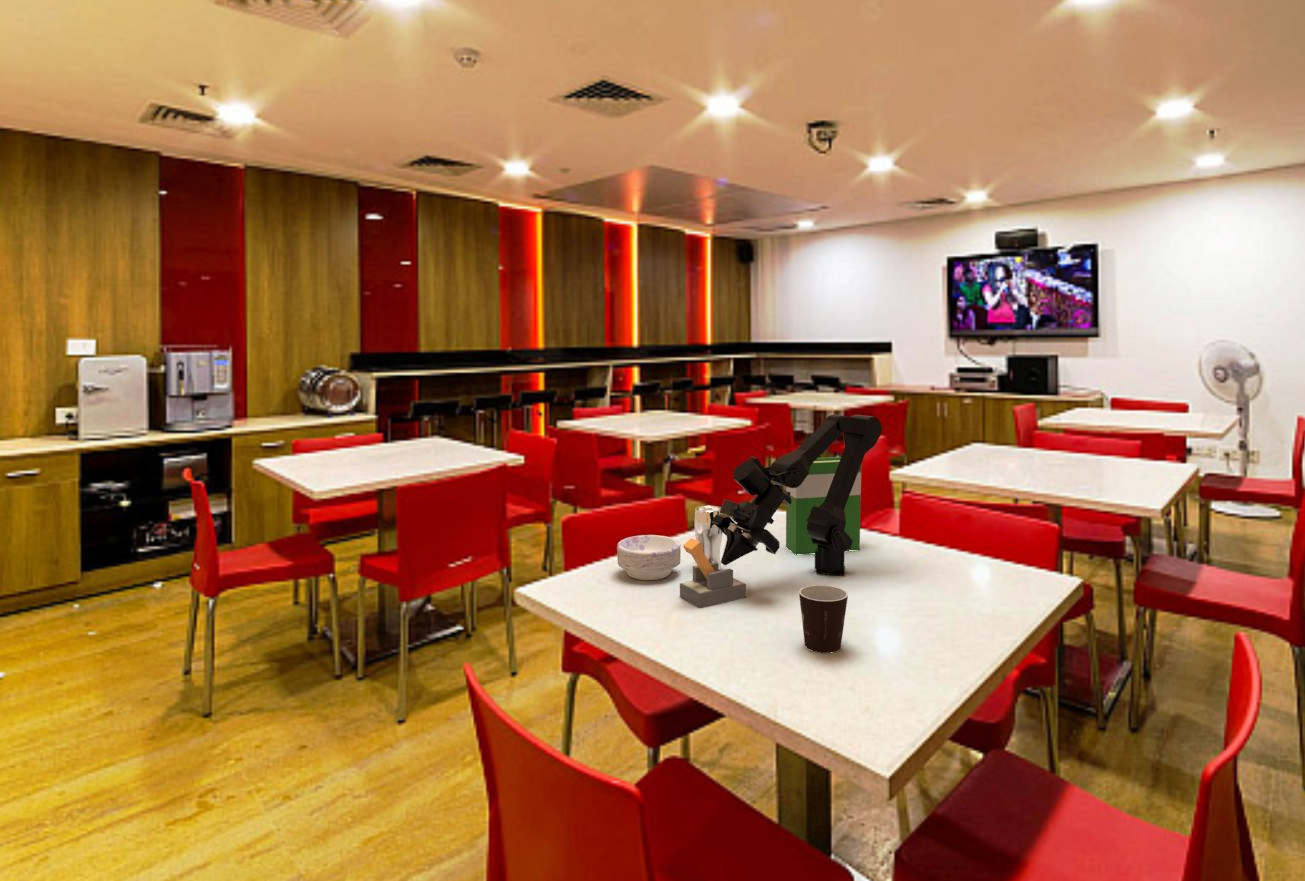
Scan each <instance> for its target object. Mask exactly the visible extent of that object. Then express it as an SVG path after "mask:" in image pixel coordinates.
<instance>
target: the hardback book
mask: <svg viewBox="0 0 1305 881" xmlns="http://www.w3.org/2000/svg"><path fill="white" fill-rule="evenodd" d="M840 459H841V456H836V457H818V458H817V459H816V460H815V461H814V462H813V464H812V465H811V466H810V471H809V474H808V476H807V477H806V478H805V480H804V481H803V483H802V484H801V485H800V486H799V487H797V488H789V487H785V491H788V492H790V497H791V501H792V503H791V504H787V503H785V506H786V507H785V512H786V513H785V548H786V547H787V548H788V549H787V548H786V549H787V550H789V551H790V550H791V551H792V552H791V551H790V552H791V553H792V554H794V555H795V554H796V555H795V556H798V555H797V554H804V555H810V554H809V553H815V550H817V547H818V545H817V544H813V543H812V541H811V538H810V535H809V534H808V530H807V524H808V522H807V521H806V520H807V519H808V518H809V516H810V513H811V509H812V507H813V506H816V507H819V506H820V505H821V504H823V503H824V501H825V498H826V496H827V493H828V490H829V488H830V485H831V483H832V480H833V477H834V475H835V472H836V469H837V467H838V464H839V462H840ZM861 488H862V465H861V466H860V469H859V471H858V474H857V477H856V479H855V482H854V485H853V487H852V490H851V493H850V495H849V498H848V501H847V503H846V506H845V509H844V512H845V519H846V525H845V529H844V531H845V532H846V533H847V534H848V535H849V537H850V538H851V539H852V540H853V542H852V546H851V549H847V551H848V552H850V551H849V550H860V547H861V545H860V544H861V542H860V541H861V500H862V499H861V498H862V496H861V493H862V489H861Z"/></svg>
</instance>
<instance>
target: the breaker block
mask: <svg viewBox="0 0 1305 881" xmlns="http://www.w3.org/2000/svg"><path fill="white" fill-rule="evenodd" d="M710 564H711V566H712V567H713V569H714V571H715V572H710V573H707V580H706V578H705V577H704V575H703V573H702V572H701V570H700V568H699V567H698V566H697V565H693V566H692V580H690V581H686V582H680V583H679V597H680V598H681V599H683V600H685V601H687V602H689V603H690V604H692V605H694V606H696V607H697V608H698V609H701V608H705V607H710V606H714V605H718V604H723V603H727V602H731V601H735V600H741V599H745V598H747V583H745V582H743V581H740V580H738V579H736V578H734V570H733V569H732V568H727V569H726V568H725V569H720V570H719V563H716V562H713V563H710Z"/></svg>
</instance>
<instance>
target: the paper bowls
mask: <svg viewBox="0 0 1305 881" xmlns="http://www.w3.org/2000/svg"><path fill="white" fill-rule="evenodd" d="M616 550H617V551H616V552H617V557H616V558H617V565H618V566H619V567H620V568H621V569H624V570H625V571H626V573H627V575H628V576H629V577H631V578H632V579H635V580H640V581H656V580H657V581H658V580H661V579H665V578H667V577H668V576H669V575H670V574H671V573H672V571H673V569H674V568H677V567H678V566H679V565H680V564H681V560H682V559H681V550H682V549H681V543H680V541H679V540H678V539H676V538H673V537H670V536H666V535H656V534H646V535H645V534H641V535H635V536H629V537H626V538H624V539H621V540H620V541H619V542H618V543H617V545H616Z"/></svg>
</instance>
